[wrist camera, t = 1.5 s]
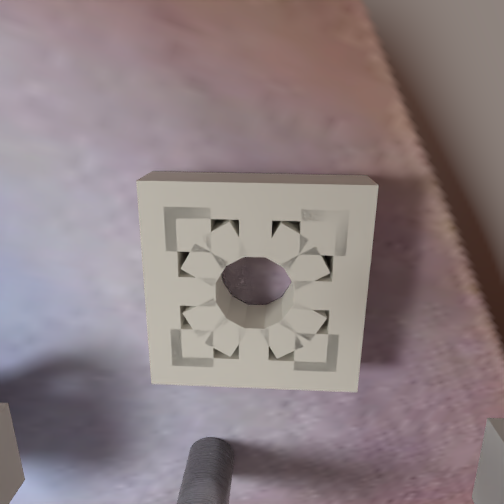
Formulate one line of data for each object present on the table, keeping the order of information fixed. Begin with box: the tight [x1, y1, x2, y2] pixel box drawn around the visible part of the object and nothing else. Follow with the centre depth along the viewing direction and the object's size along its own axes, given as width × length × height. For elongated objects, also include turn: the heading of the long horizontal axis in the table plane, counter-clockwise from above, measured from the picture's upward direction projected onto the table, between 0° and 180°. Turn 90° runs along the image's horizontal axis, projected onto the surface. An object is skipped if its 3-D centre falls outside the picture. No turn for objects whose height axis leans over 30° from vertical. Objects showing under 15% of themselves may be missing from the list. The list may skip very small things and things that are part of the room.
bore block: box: [136, 171, 379, 392], centre depth 25 cm, size 12×12×3 cm
